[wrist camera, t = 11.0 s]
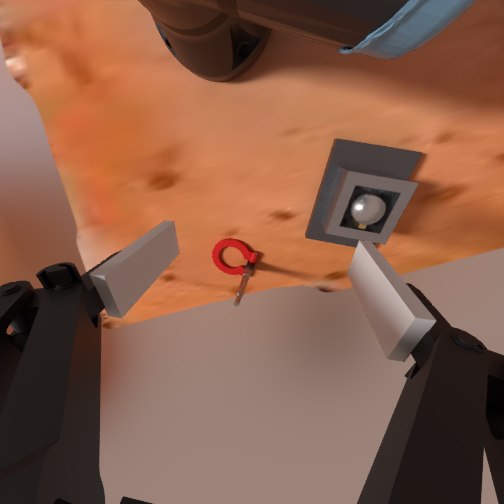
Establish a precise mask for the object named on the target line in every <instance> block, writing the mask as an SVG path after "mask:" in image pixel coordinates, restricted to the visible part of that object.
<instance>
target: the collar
mask: <svg viewBox="0 0 504 504" xmlns="http://www.w3.org/2000/svg"><path fill="white" fill-rule="evenodd" d="M418 184H419V183H416V182H413V181H410V180H406V179H403V178H400V177H394V176H388V175H383V174H377V173H371V172H365V171H359V170H354V169H348V168H342V167H339V169H338V172H337V174H336V177H335V180H334V183H333V186H332V189H331V192H330V195H329V198H328V201H327V204H326V207H325V210H324V213H323V216H322V219H321V221H320V223H321V225H322V227H323V229H324V231H325V233H326V234H331V235H336V236H342V237H347V238H352V239H358V240H363V241H371V242H374V243H379V244H386V242H387V241H388V239H389V237H390V235H391V233H392V231H393V230H394V228H395V226H396V224H397V222H398V221H399V219H400V217H401V215H402V213H403V212H404V210H405V208H406V206H407V204H408V202H409V201H410V199H411V197H412V195H413V193H414V192H415V190H416V188H417V186H418ZM355 185H359V186H364V187H370V188H376V189H381V190H382V191H381V193H380V196H379V198H380V199H382V200H383V201H384V203H385V206H386V209H385V213H384V215H383V216H382V218H381V219H380V220H378V221H377V222H375V223H373V224H369V225H367V226H366V228H365V229H362V228H358V227H357V226H356V225H355V224H354V223H353V222H352V221H351V219H348V218H343V215H344V213H345V210H346V208H347V205H348V203H349V200H350V198H351V195H352V193H353V190H354V188H355Z"/></svg>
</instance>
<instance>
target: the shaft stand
mask: <svg viewBox="0 0 504 504" xmlns="http://www.w3.org/2000/svg"><path fill="white" fill-rule="evenodd" d="M421 154H422V153H421V152H415V151H409V150H403V149H397V148H391V147H385V146H379V145H373V144H367V143H360V142H354V141H348V140H342V139H334V142H333V146H332V149H331V152H330V155H329V159H328V162H327V165H326V168H325V172H324V175H323V178H322V181H321V185H320V188H319V191H318V194H317V198H316V201H315V204H314V207H313V211H312V214H311V217H310V220H309V224H308V227H307V230H306V233H305V236H306V238H309V239H314V240H319V241H325V242H330V243H335V244H341V245H346V246H351V247H357V245H358V242H359V240H358V239H352V238H347V237H342V236H336V235H331V234H326V233H325V231H324V229H323V227H322V225H321V223H320V221H321V219H322V216H323V213H324V210H325V207H326V204H327V201H328V198H329V195H330V192H331V189H332V186H333V183H334V180H335V177H336V174H337V172H338V169H339V167H342V168H348V169H354V170H359V171H365V172H371V173H377V174H383V175H388V176H394V177H400V178H403V179H406V180H408V179H409V177H410V175H411V173H412V171H413V169H414V167H415V166H416V164H417V162H418V160H419V158H420V156H421ZM381 191H382V190H381V189H376V188H370V187H364V186H359V185H355V188H354V190H353V193H352V195H351V198H350V200H349V203H348V205H347V208H346V210H345V213H344V215H343V218H348V219H351V221H352V222H353V223H354V224H355V225H356V226H357V227H358V228H362V229H365V228H366V226H367V225H369V224H373V223H375V222H377V221H378V220H380V219H381V218H382V216H383V215H384V213H385V209H386V206H385V203H384V201H383V200H382V199H380V198H379V196H380V193H381ZM361 241H363V240H361ZM372 243H373V244H374V245H375V243H374V242H372Z"/></svg>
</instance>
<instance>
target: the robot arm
mask: <svg viewBox="0 0 504 504" xmlns="http://www.w3.org/2000/svg"><path fill="white" fill-rule="evenodd" d="M138 1H139V2H140V3H141V4H142V5H143V6H144V7H145V8H147V9H148V10H149V11H150V13H151V15H152V17H153V19H154V22H155V24H156V26H157V29H158V31H159V33H160V35H161V37H162V39H163V41H164V42H165V44H166V46H167V47H168V49H169V50H170V51H171V53H172V54H173V55H174V57H175V58H176V59H177V60H178V61H179V62H180V63H181V64H182V65H183V66H185V67H186V68H187V69H188V70H190V71H191V72H192V73H194V74H195V75H197V76H199V77H201V78H203V79H206V80H209V81H215V82H222V81H228V80H231V79H234V78H236V77H238V76H240V75H241V74H243V73H244V72H246V71H247V70H248V69H249V68H250V67H251V66H252V65H253V64H254V63H255V61H256V60H257V59H258V57H259V56H260V54H261V53H262V51H263V49H264V47H265V45H266V43H267V41H268V38H269V35H270V32H271V29H274V30H278V31H281V32H284V33H288V34H291V35H294V36H298V37H301V38H304V39H308V40H311V41H314V42H318V43H321V44H324V45H328V46H331V47H334V48H337V49H338V52H340V53H342V54H348V55H349V54H353V53H360V54H364V55H368V56H373V57H377V58H381V59H394V58H398V57H400V56H402V55H404V54H406V53H408V52H410V51H414V50H416V49H418V48H420V47H421V46H423V45H424V44H426V43H427V42H429V41H430V40H431V39H433V38H434V37H435V36H437V35H438V34H439V33H441V32H442V31H443V30H444V29H445V28H447V27H448V26H449V25H450V24H451V23H452V22H454V21H455V20H456V19H457V18H458V17H459V16H460V15H461V14H462V13H463V12H465V11H466V10H467V9H468V8H469V7H470V6H471V5H472V4H473V3H474V2H475V1H476V0H138ZM178 255H179V247H178V241H177V235H176V229H175V223H174V221H163V222H162V223H160V224H159V225H157V226H156V227H155V228H153V229H152V230H150V231H149V232H148V233H146V234H145V235H143V236H142V237H140V238H139V239H138V240H136V241H135V242H133V243H132V244H131V245H129V246H128V247H126V248H125V249H124V250H121V251H119V252H116V253H114V254H112V255H111V256H109V257H108V258H106V260H104V261H102V262H101V263H100V264H98V265H96V266H95V267H93V268H92V269H91V270H89V271H88V272H86V273H85V274H83V275H82V276H80V274H79V272H78V270H77V268H76V266H75V264H73V263H68V262H66V263H58V264H55V265H51V266H49V267H46V268H44V269H42V270H41V271H39V272H38V273H37V274H36V276H37V277H38V279H39V281H40V282H41V284H42V285H43V287H44V288H41V289H34V288H33V287H32V285H31V284H30V282H28V281H16V282H10V283H8V284H4V285H2V286H1V287H0V504H105V495H104V488H103V484H102V481H101V477H100V471H99V445H100V440H99V439H100V380H101V375H100V374H101V316H100V314H99V313H100V312H101V311H102V310H103V309H104V308H105V309H106V312H107V314H108V316H112V317H118V318H123V317H124V315H125V314H126V313H127V312H128V311H129V310H130V309H131V307H132V306H133V305H134V304H135V303H136V302H137V301H138V300H139V298H140V297H141V296H142V295H143V294H144V293H145V292H146V291H147V289H148V288H149V287H150V286H151V285H152V284H153V283H154V282H155V280H156V279H157V278H158V277H159V276H160V275H161V274H162V273H163V271H164V270H165V269H166V268H167V267H168V266H169V265H170V264H171V262H172V261H173V260H174V259H175V258H176V257H177V256H178ZM347 274H348V276H349V278H350V280H351V282H352V285H353V287H354V289H355V291H356V293H357V295H358V298H359V299H360V302H361V304H362V306H363V308H364V310H365V313H366V315H367V317H368V319H369V321H370V323H371V326H372V328H373V330H374V332H375V334H376V336H377V339H378V341H379V343H380V345H381V347H382V350H383V352H384V354H385V356H386V358H387V359H390V360H397V361H403V362H405V360H406V359H407V358H408V357H409V355H410V354H412V356H413V358H414V360H415V361H416V363H415V364H414V365H413V366H412V367H411V368H410V370H409V371H408V372H407V373H406V374H405V377H407V381H406V383H405V385H404V388H403V390H402V393H401V396H400V398H399V400H398V403H397V405H396V408H395V410H394V413H393V415H392V418H391V420H390V423H389V425H388V428H387V430H386V433H385V435H384V438H383V440H382V443H381V445H380V447H379V450H378V452H377V455H376V457H375V460H374V463H373V465H372V467H371V470H370V473H369V475H368V477H367V480H366V483H365V485H364V487H363V490H362V492H361V495H360V497H359V500H358V502H357V504H481V491H482V472H483V452H484V448H485V452H486V456H487V460H488V464H489V468H490V472H491V476H492V480H493V483H494V487H495V491H496V495H497V499H498V503H499V504H504V355H501V354H498V353H496V352H493V351H490V350H487V348H486V347H485V346H484V344H483V343H482V342H481V341H479V340H478V339H477V338H476V337H474V336H472V335H470V334H469V333H467V332H465V331H462V330H460V329H458V328H453V327H452V326H450V324H449V323H448V322H447V321H446V319H445V318H444V317H443V316H442V315H441V314H440V313H439V311H438V310H437V309H436V308H435V307H434V306H432V304H431V302H429V300H428V299H427V298H426V297H425V296H424V295H423V293H422V292H421V291H420V290H419V289H417V288H415V287H414V286H413V285H412V284H409V283H405V282H404V281H403V280H402V278H401V277H400V276H399V275H398V273H397V272H396V271H395V270H394V269H393V267H392V266H391V265H390V264H389V263H388V261H387V260H386V259H385V258H384V257H383V255H382V254H381V253H380V252H379V250H378V249H377V248H376V247H375V246H374V244H373V243H372V242H371V241H361V240H359V242H358V245H357V248H356V250H355V253H354V256H353V259H352V261H351V264H350V267H349V269H348V272H347ZM9 325H10V326H11V327H12V328H13V329H14V331H13V332H12V333H11V334H10V335H8V334H7V333H6V332H7V331H6V330H7V328H8V326H9ZM120 504H152V503H148V502H144V501H140V500H136V499H132V498H128V497H123V498H122V500H121V502H120Z"/></svg>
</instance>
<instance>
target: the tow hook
mask: <svg viewBox="0 0 504 504" xmlns="http://www.w3.org/2000/svg"><path fill="white" fill-rule="evenodd" d="M228 246H231V247H235V248H237V249H239V250H240V251H241V252H242V254H243V256H244V258H245V259H247V260H248V262H247V264H246V267H244V266H239V267H235V268H233V267H229V266H227V265H225V264H224V263H223V262H222V260H221V258H220V251H221V250H222V249H223V248H225V247H228ZM258 255H259V253H258V252H256V251H253V252H252V251H250V250H249V249H248V247H247V246H246V245H245V244H244V243H242V242H241V241H239V240H236V239H230V238H229V239H224V240H221V241H219V242H218V243H217V244H216V245H215V247H214V249H213V252H212V258H213V261H214V263H215V265H216V266H217V267H218V268H219V269H220V270H221V271H223V272H225V273H227V274H232V275H238V274H240V275H242V280H241V283H240V286H239V288H238V291H237V294H236V300H235V303H234V305H235V306H238V305H239V303H240V300H241V298H242V297H243V295H244V291H245V288H246V285H247V282H248V280H249V278H250V276H251V273H252V271H253V269H254V266H255V262H256V260H257V257H258Z"/></svg>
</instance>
